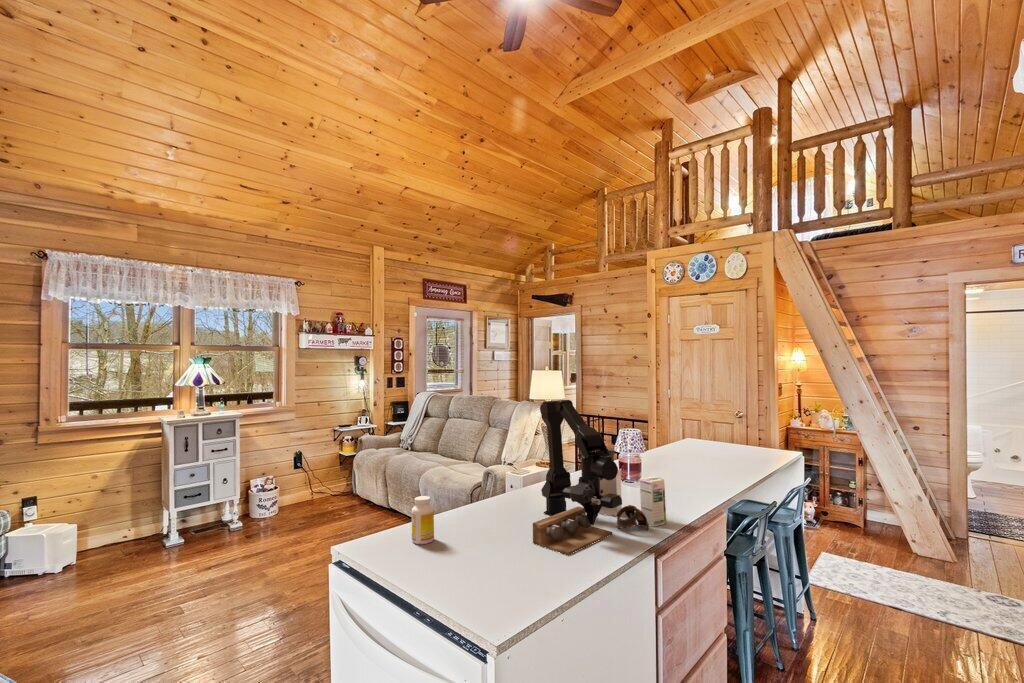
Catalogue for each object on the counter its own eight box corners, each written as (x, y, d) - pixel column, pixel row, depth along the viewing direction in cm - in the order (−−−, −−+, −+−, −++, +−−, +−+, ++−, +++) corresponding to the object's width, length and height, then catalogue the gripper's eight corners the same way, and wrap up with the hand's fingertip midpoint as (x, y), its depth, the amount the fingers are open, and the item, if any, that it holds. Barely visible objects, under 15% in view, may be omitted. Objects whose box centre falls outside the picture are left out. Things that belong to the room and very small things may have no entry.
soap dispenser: (623, 509, 171) (621, 447, 172) (617, 516, 163) (615, 452, 164) (605, 507, 174) (603, 446, 175) (599, 514, 166) (597, 450, 167)
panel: (533, 543, 140) (532, 522, 140) (578, 524, 155) (578, 506, 156) (567, 555, 131) (567, 533, 131) (612, 534, 146) (611, 514, 146)
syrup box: (653, 527, 152) (652, 481, 153) (640, 522, 157) (639, 477, 158) (666, 524, 154) (665, 479, 155) (653, 519, 160) (652, 475, 160)
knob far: (564, 523, 152) (564, 511, 152) (572, 520, 155) (571, 508, 155) (584, 529, 146) (584, 516, 146) (591, 526, 149) (591, 513, 149)
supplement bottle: (438, 538, 146) (437, 495, 146) (427, 546, 139) (426, 501, 140) (418, 535, 148) (418, 494, 148) (407, 543, 141) (407, 500, 142)
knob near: (535, 535, 142) (534, 522, 142) (543, 532, 145) (543, 519, 145) (555, 542, 136) (555, 528, 137) (563, 538, 139) (563, 525, 139)
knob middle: (550, 529, 147) (550, 516, 147) (558, 526, 150) (557, 513, 150) (570, 535, 141) (570, 522, 142) (578, 532, 144) (577, 519, 144)
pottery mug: (655, 535, 146) (643, 514, 145) (627, 548, 147) (615, 527, 146) (645, 513, 158) (634, 493, 156) (619, 525, 159) (608, 505, 158)
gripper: (551, 473, 148) (552, 524, 148) (600, 483, 135) (602, 539, 134) (573, 467, 156) (574, 515, 155) (622, 476, 143) (623, 528, 142)
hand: (592, 524), depth 147 cm, fingers closed
